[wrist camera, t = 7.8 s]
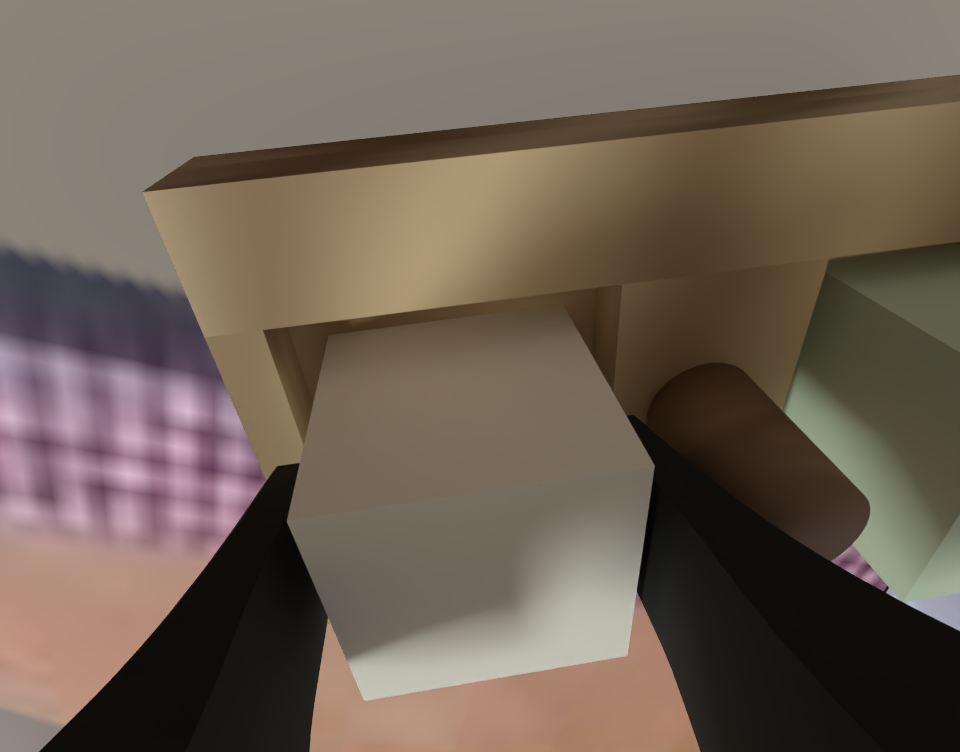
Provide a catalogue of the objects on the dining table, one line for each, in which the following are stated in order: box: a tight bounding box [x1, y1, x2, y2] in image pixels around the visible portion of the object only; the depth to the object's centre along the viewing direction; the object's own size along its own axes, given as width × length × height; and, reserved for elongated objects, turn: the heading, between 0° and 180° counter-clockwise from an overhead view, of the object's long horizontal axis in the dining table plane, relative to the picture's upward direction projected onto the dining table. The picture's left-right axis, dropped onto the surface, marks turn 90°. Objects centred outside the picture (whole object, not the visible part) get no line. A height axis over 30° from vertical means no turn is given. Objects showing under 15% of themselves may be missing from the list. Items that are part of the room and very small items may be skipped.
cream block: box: [287, 304, 655, 701], centre depth 11 cm, size 5×5×5 cm
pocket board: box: [142, 75, 960, 624], centre depth 11 cm, size 19×12×6 cm, turn 95°
